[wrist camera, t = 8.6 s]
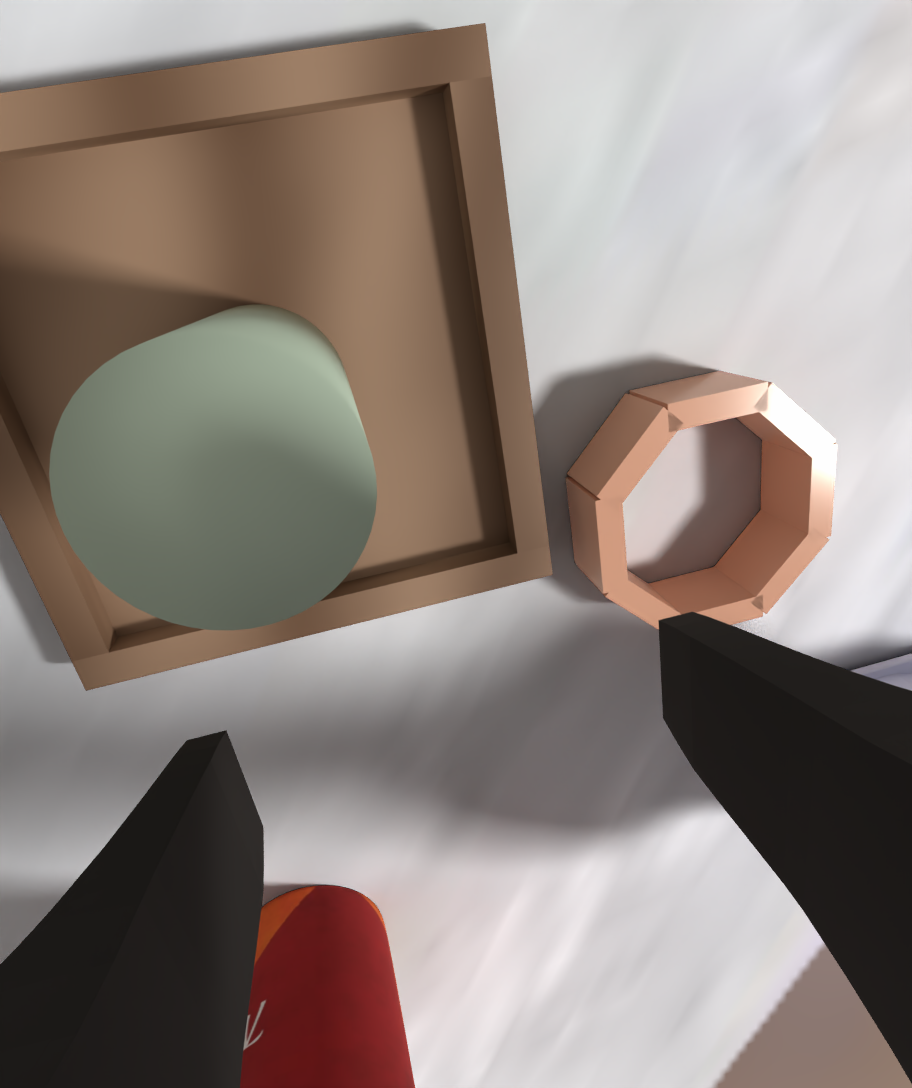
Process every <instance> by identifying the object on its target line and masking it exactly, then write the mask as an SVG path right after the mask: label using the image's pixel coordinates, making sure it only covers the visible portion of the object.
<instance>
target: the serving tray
mask: <svg viewBox="0 0 912 1088" xmlns="http://www.w3.org/2000/svg"><path fill="white" fill-rule="evenodd" d="M251 304H262V305H270V306H275V307H279V308H283V309H286V310H289V311H291V312H294V313H296V314H298V315H300V316H301V317H303V318H305V319H307V320H308V321H309V322H311V323H312V324H313V325H315V326H316V327H317V328H318V329H319V330H320V331H321V332H322V333H323V334H324V335H325V336H326V337H327V338H328V339H329V341H330V342H331V343H332V345H333V346H334V348H335V349H336V351H337V353H338V355H339V357H340V359H341V361H342V363H343V366H344V369H345V372H346V375H347V378H348V382H349V385H350V388H351V391H352V394H353V397H354V400H355V404H356V407H357V410H358V413H359V416H360V419H361V422H362V426H363V429H364V432H365V435H366V438H367V441H368V444H369V447H370V451H371V454H372V457H373V462H374V467H375V473H376V483H377V501H376V512H375V517H374V521H373V526H372V530H371V533H370V535H369V538H368V541H367V543H366V546H365V548H364V550H363V552H362V554H361V555H360V557H359V559H358V561H357V563H356V564H355V565H354V567H353V568H352V570H351V571H350V572H349V574H348V575H347V576H346V578H345V579H344V580H343V581H342V582H341V583H340V584H339V585H338V586H337V587H336V588H335V589H334V590H333V591H332V592H331V593H329V594H328V595H327V596H326V597H324V598H323V599H322V600H321V601H319V602H318V603H316V604H315V605H313V606H311V607H310V608H308V609H307V610H305V611H303V612H301V613H299V614H297V615H294V616H292V617H290V618H288V619H285V620H282V621H279V622H276V623H273V624H270V625H266V626H261V627H256V628H251V629H242V630H207V629H199V628H191V627H187V626H183V625H179V624H175V623H171V622H168V621H165V620H163V619H160V618H157V617H154V616H152V615H150V614H148V613H146V612H144V611H142V610H140V609H137V608H135V607H134V606H132V605H131V604H129V603H127V602H126V601H124V600H123V599H121V598H119V597H118V596H116V595H115V594H114V593H113V592H112V591H110V590H109V589H108V588H107V587H105V586H104V585H103V584H102V583H101V582H100V581H99V580H98V579H97V578H96V577H95V576H94V575H93V574H92V573H91V572H90V571H89V570H88V569H87V568H86V567H85V565H84V564H83V563H82V561H81V560H80V559H79V557H78V556H77V555H76V553H75V552H74V551H73V549H72V547H71V545H70V544H69V542H68V540H67V538H66V537H65V535H64V533H63V530H62V528H61V525H60V523H59V520H58V518H57V515H56V512H55V508H54V504H53V500H52V496H51V488H50V477H49V468H50V453H51V448H52V443H53V439H54V434H55V431H56V429H57V426H58V423H59V421H60V418H61V416H62V413H63V412H64V410H65V408H66V407H67V405H68V403H69V401H70V400H71V398H72V396H73V395H74V394H75V392H76V391H77V390H78V389H79V388H80V386H81V385H82V384H83V383H84V382H85V380H86V379H87V378H88V377H89V376H91V375H92V374H93V373H94V372H95V371H96V370H97V369H98V368H100V367H101V366H102V365H103V364H104V363H106V362H108V361H109V360H111V359H112V358H114V357H115V356H117V355H118V354H120V353H121V352H124V351H126V350H128V349H130V348H132V347H135V346H137V345H139V344H141V343H144V342H146V341H149V340H151V339H154V338H156V337H159V336H161V335H164V334H166V333H169V332H171V331H174V330H176V329H179V328H181V327H184V326H186V325H189V324H192V323H194V322H197V321H199V320H202V319H204V318H207V317H209V316H212V315H214V314H217V313H219V312H222V311H224V310H227V309H230V308H234V307H237V306H243V305H251ZM0 514H1V516H2V518H3V520H4V522H5V525H6V527H7V529H8V531H9V533H10V535H11V537H12V539H13V541H14V543H15V545H16V547H17V549H18V551H19V553H20V556H21V558H22V560H23V562H24V564H25V566H26V568H27V570H28V572H29V574H30V576H31V578H32V580H33V582H34V584H35V587H36V589H37V591H38V593H39V595H40V597H41V599H42V601H43V603H44V605H45V607H46V609H47V611H48V613H49V615H50V617H51V620H52V622H53V624H54V626H55V628H56V630H57V632H58V634H59V636H60V638H61V640H62V642H63V644H64V646H65V648H66V651H67V653H68V655H69V657H70V659H71V661H72V663H73V665H74V667H75V669H76V671H77V673H78V675H79V677H80V679H81V682H82V684H83V686H84V688H85V690H86V691H87V690H91V689H95V688H99V687H103V686H107V685H111V684H115V683H119V682H123V681H127V680H131V679H135V678H139V677H143V676H147V675H151V674H155V673H159V672H163V671H167V670H171V669H175V668H179V667H183V666H188V665H192V664H196V663H200V662H204V661H208V660H212V659H216V658H220V657H224V656H228V655H232V654H236V653H240V652H244V651H248V650H252V649H256V648H260V647H264V646H268V645H272V644H276V643H280V642H284V641H288V640H292V639H296V638H300V637H304V636H308V635H312V634H316V633H320V632H324V631H328V630H332V629H336V628H340V627H345V626H349V625H353V624H357V623H361V622H365V621H369V620H373V619H377V618H381V617H385V616H389V615H393V614H397V613H401V612H405V611H409V610H413V609H417V608H421V607H425V606H429V605H433V604H437V603H441V602H445V601H449V600H453V599H457V598H461V597H465V596H469V595H473V594H477V593H481V592H485V591H489V590H493V589H497V588H501V587H506V586H510V585H514V584H518V583H522V582H526V581H530V580H534V579H538V578H542V577H546V576H550V575H553V573H552V565H551V556H550V548H549V540H548V532H547V524H546V515H545V507H544V499H543V491H542V483H541V475H540V466H539V458H538V450H537V442H536V434H535V426H534V417H533V409H532V401H531V393H530V385H529V377H528V368H527V360H526V352H525V344H524V336H523V327H522V319H521V311H520V303H519V295H518V287H517V278H516V270H515V262H514V254H513V246H512V238H511V229H510V221H509V213H508V205H507V197H506V189H505V180H504V172H503V164H502V156H501V148H500V139H499V131H498V123H497V115H496V107H495V99H494V90H493V82H492V74H491V66H490V58H489V50H488V41H487V33H486V25H485V23H483V24H476V25H469V26H462V27H455V28H448V29H441V30H434V31H427V32H420V33H413V34H406V35H399V36H392V37H386V38H379V39H372V40H365V41H358V42H351V43H344V44H337V45H330V46H323V47H316V48H309V49H302V50H295V51H288V52H281V53H275V54H268V55H261V56H254V57H247V58H240V59H233V60H226V61H219V62H212V63H205V64H198V65H191V66H184V67H177V68H171V69H164V70H157V71H150V72H143V73H136V74H129V75H122V76H115V77H108V78H101V79H94V80H87V81H80V82H73V83H67V84H60V85H53V86H46V87H39V88H32V89H25V90H18V91H11V92H4V93H0Z"/></svg>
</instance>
